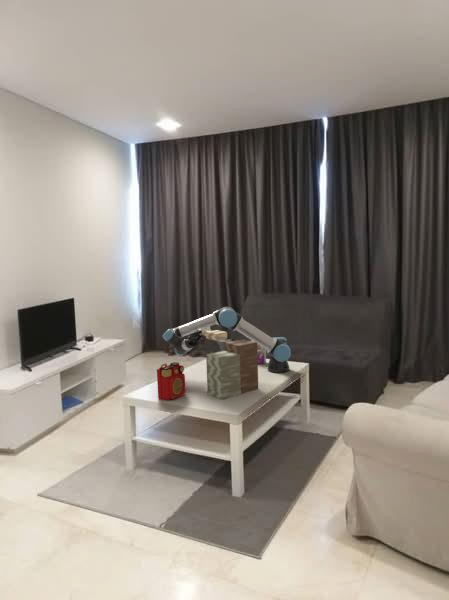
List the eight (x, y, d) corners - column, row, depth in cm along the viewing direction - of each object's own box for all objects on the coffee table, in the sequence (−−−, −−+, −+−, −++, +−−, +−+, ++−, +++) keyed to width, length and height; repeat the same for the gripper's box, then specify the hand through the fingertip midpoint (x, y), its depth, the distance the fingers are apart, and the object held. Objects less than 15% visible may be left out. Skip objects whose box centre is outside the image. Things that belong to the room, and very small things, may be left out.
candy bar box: (250, 363, 340) (249, 341, 338) (251, 361, 344) (251, 340, 343) (264, 364, 336) (264, 342, 334) (266, 362, 341) (265, 340, 339)
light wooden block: (193, 335, 283) (192, 328, 282) (203, 333, 287) (203, 327, 287) (216, 340, 264) (216, 333, 263) (227, 338, 269) (227, 332, 268)
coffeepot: (218, 362, 346) (217, 338, 344) (215, 359, 355) (214, 336, 353) (237, 360, 351) (237, 337, 349) (233, 357, 360) (233, 334, 358)
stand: (207, 393, 272) (205, 346, 268) (243, 384, 289) (242, 339, 285) (222, 399, 261) (220, 349, 257) (258, 389, 278) (257, 342, 274)
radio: (170, 401, 260) (169, 367, 257) (157, 399, 265) (155, 365, 263) (187, 393, 273) (186, 361, 271) (174, 391, 278) (172, 359, 276)
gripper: (201, 346, 298) (220, 332, 281) (180, 350, 288) (198, 336, 271) (198, 335, 300) (216, 321, 283) (177, 339, 290) (194, 324, 273)
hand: (207, 328), depth 277 cm, fingers closed on light wooden block, 3 cm apart
